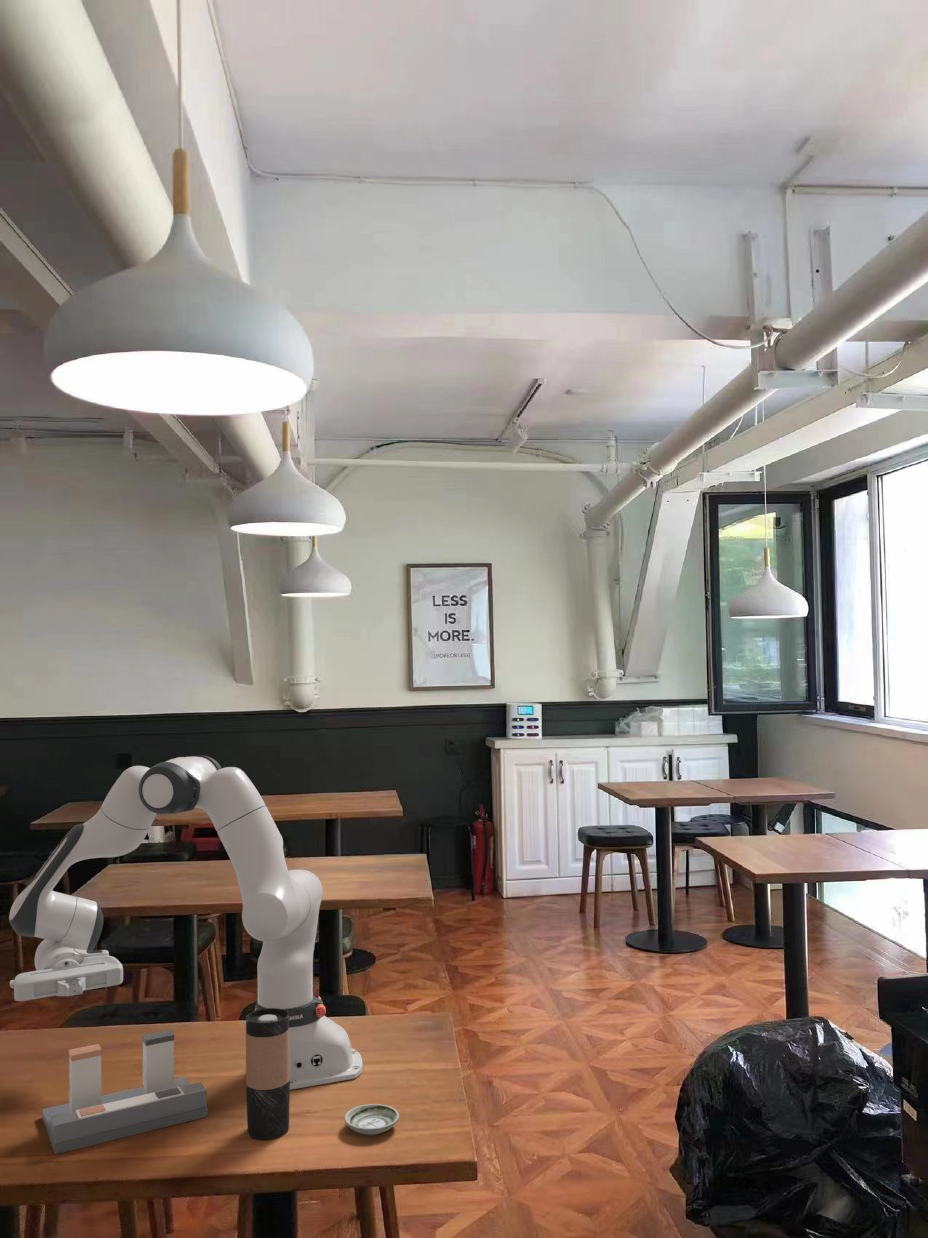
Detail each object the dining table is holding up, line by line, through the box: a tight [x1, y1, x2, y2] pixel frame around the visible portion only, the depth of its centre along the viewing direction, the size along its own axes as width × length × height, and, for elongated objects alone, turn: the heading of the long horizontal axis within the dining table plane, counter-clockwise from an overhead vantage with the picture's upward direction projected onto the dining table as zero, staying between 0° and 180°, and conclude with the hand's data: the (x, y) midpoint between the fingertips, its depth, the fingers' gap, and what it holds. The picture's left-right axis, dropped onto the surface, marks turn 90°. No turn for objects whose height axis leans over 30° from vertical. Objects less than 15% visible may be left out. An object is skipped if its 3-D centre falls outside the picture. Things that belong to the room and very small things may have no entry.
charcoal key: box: [141, 1029, 175, 1095], centre depth 185 cm, size 3×5×11 cm, turn 120°
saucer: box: [343, 1103, 400, 1136], centre depth 174 cm, size 10×10×2 cm
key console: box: [41, 1076, 209, 1155], centre depth 180 cm, size 26×16×5 cm, turn 120°
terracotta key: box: [68, 1043, 103, 1112], centre depth 179 cm, size 3×5×11 cm, turn 120°
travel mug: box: [245, 1008, 291, 1141], centre depth 174 cm, size 8×8×20 cm
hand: (74, 991), depth 190 cm, fingers closed
